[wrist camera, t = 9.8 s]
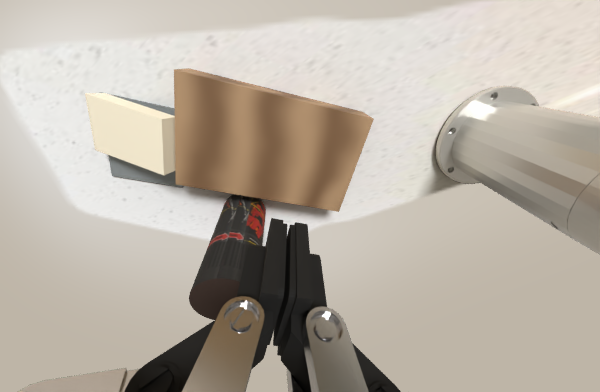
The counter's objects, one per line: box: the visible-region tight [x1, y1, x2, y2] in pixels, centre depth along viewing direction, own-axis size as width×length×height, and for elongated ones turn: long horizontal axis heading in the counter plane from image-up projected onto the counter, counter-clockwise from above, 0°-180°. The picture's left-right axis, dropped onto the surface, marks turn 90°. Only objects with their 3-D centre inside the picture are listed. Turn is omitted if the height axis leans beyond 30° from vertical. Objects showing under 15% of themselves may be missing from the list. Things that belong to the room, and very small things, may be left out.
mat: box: [109, 94, 183, 188], centre depth 29 cm, size 8×10×1 cm
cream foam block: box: [85, 93, 175, 175], centre depth 25 cm, size 9×6×2 cm, turn 77°
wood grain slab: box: [174, 69, 373, 212], centre depth 28 cm, size 20×12×4 cm, turn 76°
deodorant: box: [189, 194, 266, 320], centre depth 28 cm, size 6×6×15 cm
